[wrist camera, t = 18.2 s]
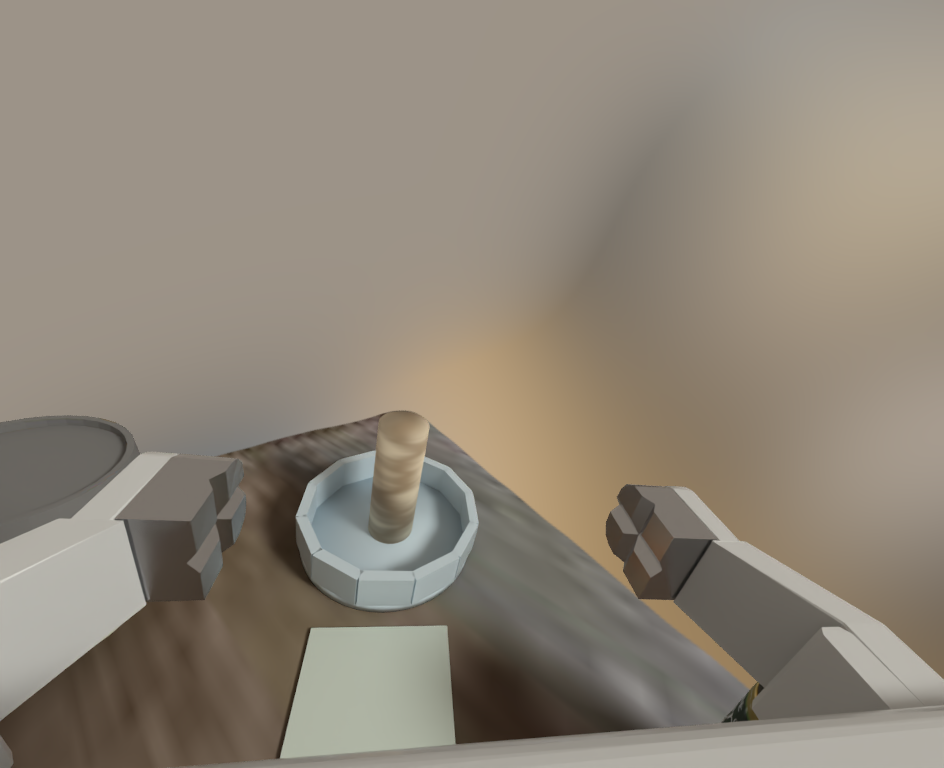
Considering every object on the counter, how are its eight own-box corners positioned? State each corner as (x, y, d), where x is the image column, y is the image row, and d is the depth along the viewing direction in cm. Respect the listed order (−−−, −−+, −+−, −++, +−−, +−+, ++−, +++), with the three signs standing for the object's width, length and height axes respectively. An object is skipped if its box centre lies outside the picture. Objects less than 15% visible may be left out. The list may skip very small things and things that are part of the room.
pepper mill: (365, 543, 41) (376, 436, 35) (370, 508, 45) (381, 408, 39) (411, 544, 42) (430, 440, 36) (412, 510, 46) (428, 413, 40)
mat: (261, 837, 22) (261, 835, 22) (311, 629, 33) (311, 627, 33) (459, 814, 25) (460, 812, 25) (446, 627, 35) (447, 625, 35)
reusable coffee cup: (177, 632, 31) (145, 492, 25) (-82, 749, 23) (-231, 586, 16) (162, 527, 39) (135, 402, 33) (-34, 586, 31) (-120, 435, 25)
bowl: (273, 613, 34) (272, 579, 32) (321, 473, 50) (322, 445, 48) (480, 611, 37) (489, 581, 35) (460, 481, 54) (466, 456, 52)
